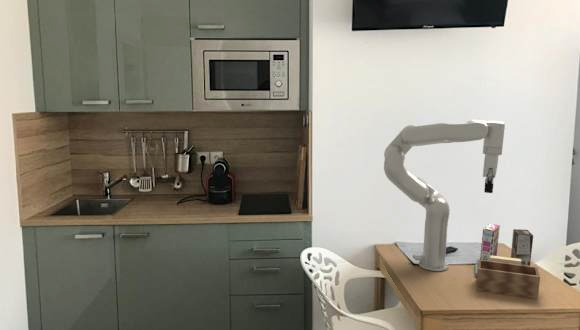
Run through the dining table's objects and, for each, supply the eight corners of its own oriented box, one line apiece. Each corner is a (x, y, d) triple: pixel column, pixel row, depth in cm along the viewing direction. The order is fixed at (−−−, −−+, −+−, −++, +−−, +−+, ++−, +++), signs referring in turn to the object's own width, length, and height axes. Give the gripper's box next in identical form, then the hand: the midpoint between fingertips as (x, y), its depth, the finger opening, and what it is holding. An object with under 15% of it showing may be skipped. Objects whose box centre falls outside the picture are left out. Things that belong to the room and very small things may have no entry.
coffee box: (530, 271, 218) (533, 235, 216) (514, 270, 220) (517, 234, 217) (525, 263, 227) (528, 229, 224) (509, 262, 229) (513, 228, 226)
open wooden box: (476, 290, 198) (477, 268, 197) (476, 279, 209) (478, 259, 207) (537, 299, 191) (540, 277, 189) (534, 288, 201) (537, 266, 199)
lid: (475, 278, 211) (476, 259, 210) (475, 267, 222) (476, 250, 221) (535, 286, 204) (537, 267, 202) (532, 275, 215) (534, 257, 213)
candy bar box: (490, 266, 224) (493, 230, 221) (479, 263, 227) (482, 228, 224) (497, 258, 233) (500, 224, 230) (486, 256, 236) (489, 222, 233)
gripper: (483, 147, 220) (479, 185, 223) (482, 152, 204) (478, 193, 207) (501, 148, 218) (497, 187, 221) (502, 154, 202) (498, 195, 205)
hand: (488, 190), depth 214 cm, fingers open, 9 cm apart
